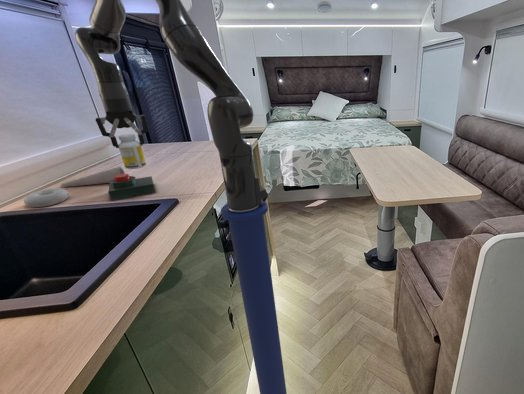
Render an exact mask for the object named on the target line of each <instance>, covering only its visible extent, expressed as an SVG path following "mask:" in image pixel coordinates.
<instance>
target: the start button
mask: <svg viewBox="0 0 524 394" xmlns="http://www.w3.org/2000/svg"><path fill="white" fill-rule="evenodd" d="M129 176H130V174H129V173H125V174H119V175H116V176H114V179H115V182H121V181H126V180H129V179H130V177H129Z"/></svg>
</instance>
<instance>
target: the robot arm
mask: <svg viewBox="0 0 524 394" xmlns="http://www.w3.org/2000/svg"><path fill="white" fill-rule="evenodd" d="M155 2H156V4H157V7H158V9H159V31H160V35H161V37H162V39H163V41H164V43H165V44H166V46H167V48H168V49H169V51H170V52H171V53H172V55H173V56H174V58H175V59H176V60H177V61H178V62H179V64H181V66H183V67H184V68H185V69H186V70H187V71H188V72H190V73H191V74H192V75H193V76H195V77H196V78H197V79H198V80H200V81H201V82H202V83H204V84H205V86H206V87H208V88H209V90H211V92H212V94H213V95H214V97H213V98H211V99H210V100H209V101H208V104H207V108H206V109H207V110H206V112H207V119H208V124H209V128H210V132H211V137H212V140H213V144H214V147H216V149H217V152H218V156H219V157H218V158H219V162H220V167H221V172H222V173H221V174H222V179H223V184H224V189H225V196H226V200H227V204H228V209H229V211H230V212H233V213H247V212H251V211H254V210H256V209H258V208H259V207H262V202H261V200H262V201H264V202H265V201H266V202H267V199H268V198H269V194H268V192H267V189H266V188H265V187H263V186H262V185H261V184H260V180H259V177H257V174H256V166H255V159H254V158H255V157H254V152H253V145H252V142H250V141H247V140H244V138H243V137H242V133H241V129H243V128H247V127H248V126H250V125H251V124H252V122H253V121H254V109H253V107H252V105H251V103H250V101H249V100H248V98H247V97H246V96H245V94H244V93H243V92H242V91H241V89H240V88H239V87H238V85H237V84H236V83H235V82H234V80H233V79H232V78H231V77H230V75H229V73H228V72H227V71H226V69H225V68H224V66H223V65H222V63H221V61H220V60H219V59H218V57H217V55H216V54H215V52H214V51H213V50H212V48H211V46H210V45H209V43H208V41H207V39H206V38H205V37H204V35H203V33H202V32H201V30H200V28H199V27H198V26H197V24H196V23H195V21H194V20H193V19H192V17H191V15H190V14H189V12H188V10H187V9H186V7H185V6H184V4H183V2H182V1H181V0H155ZM124 5H125V4H124V3H123V0H94V3H93V6H92V9H91V12H90V16H89V24H90V27H84V26H82V27H81V26H79V27H77V29H76V30H75V32H74V39H75V42H76V44H77V46H78V48H79V49H80V50H81V52H82V53H83V55H84V57H85V58H86V59H87V62H88V64H89V65H90V67H91V69H92V71H93V74H94V78H95V80H96V83H97V89H98V93H99V94H98V95H99V97H100V99H101V103H102V107H103V109H104V112H105V116H103V117H102V116H101V117H96V118H95V122H96V125H97V126H98V129H99V131H100V133H101V136H102V137H108V138H110V141H111V145H112V147H113V148H115V149H119V147H118V145H119V143H118V139H117V136H115V134H116V131H117V129H129V128H131V129H132V130H133V131H134V132H135V133H136V134H137V138H138V142H139V143H140V145H141V146H144V144H145V139H144V134H147V133H148V126H147V125H148V124H147V119H146V115H145V114H135V113H134V110H133V107H132V103H131V99H130V95H129V92H128V89H127V86H126V85H125V81H124V78H123V77H124V76H123V74H122V71H121V67H120V66H119V64H118V63H115V62H111V61H106V60H104V59H103V58H102V57H101V56H100V55H116V54H118V53H119V52H120V51H121V31H122V28H123V27H124V24H125V22H126V18H127V14H126V13H127V12H126V8H125V6H124ZM137 119H138V122H141V125H142V129H140V128H139V127H138V126H137V125H136V124H135V121H136V120H137ZM106 121H107V122H108V123H109V124H110V125H111V129H110V131H109V132H108V131H107V130H106V128H105V127H106V126H105V124H106Z"/></svg>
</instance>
